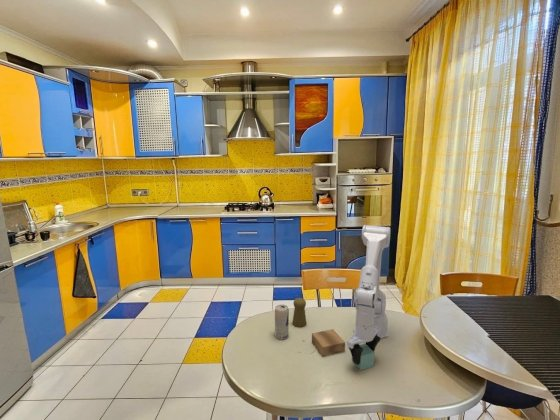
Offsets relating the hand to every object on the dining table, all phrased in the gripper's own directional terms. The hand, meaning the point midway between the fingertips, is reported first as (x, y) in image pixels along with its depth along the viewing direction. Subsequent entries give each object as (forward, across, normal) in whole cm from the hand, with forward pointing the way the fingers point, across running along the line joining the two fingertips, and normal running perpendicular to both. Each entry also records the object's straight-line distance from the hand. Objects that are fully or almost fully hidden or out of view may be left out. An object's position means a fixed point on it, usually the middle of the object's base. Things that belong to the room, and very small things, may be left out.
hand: (362, 359), depth 103 cm
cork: (+2, +2, -32) cm, 32 cm away
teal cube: (+2, 0, 0) cm, 2 cm away
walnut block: (+2, +3, -14) cm, 14 cm away
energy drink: (+2, +13, -29) cm, 32 cm away
